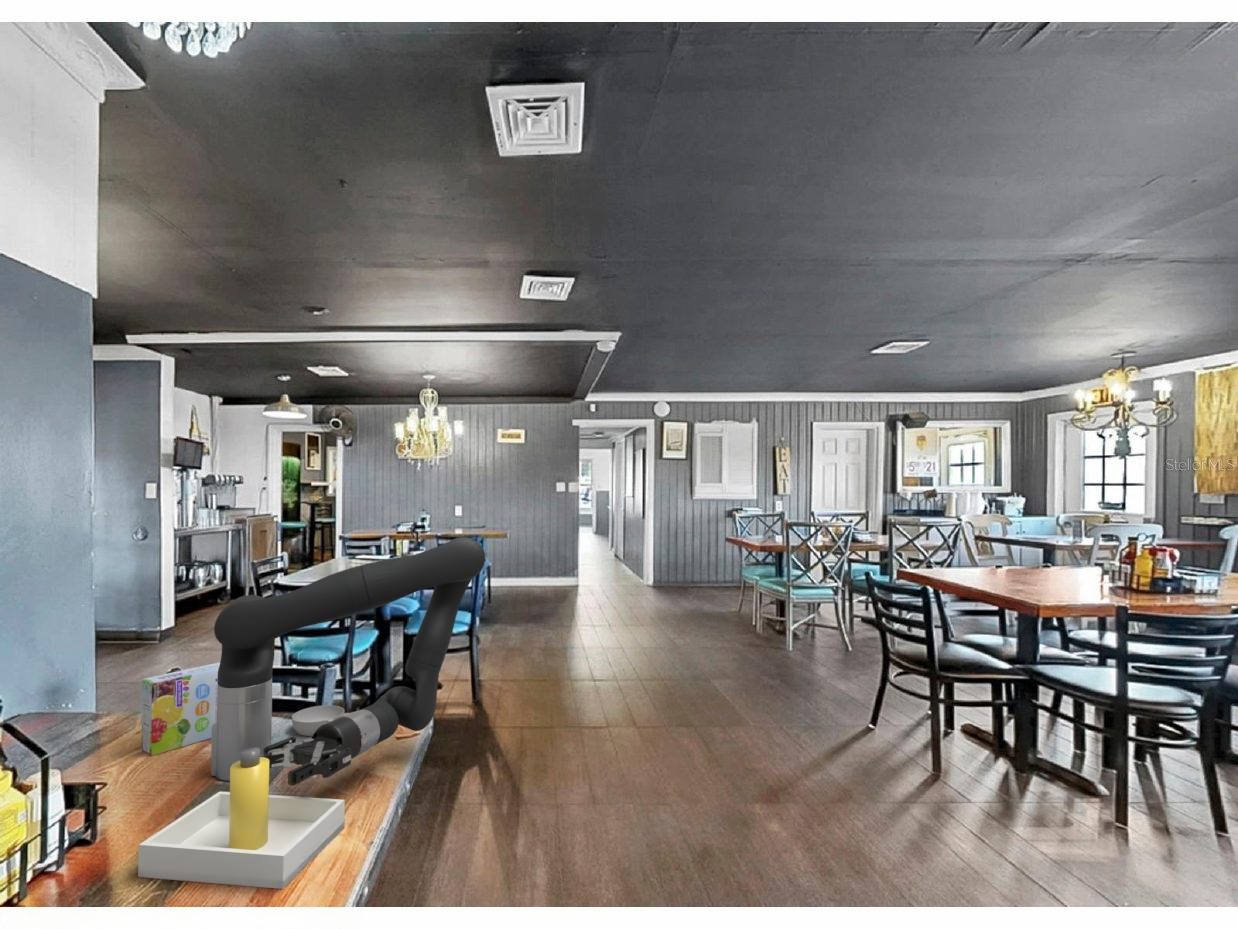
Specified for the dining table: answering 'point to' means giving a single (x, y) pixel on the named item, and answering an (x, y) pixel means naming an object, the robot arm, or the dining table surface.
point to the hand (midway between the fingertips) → (269, 774)
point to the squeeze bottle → (249, 801)
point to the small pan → (315, 718)
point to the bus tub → (205, 855)
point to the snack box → (179, 708)
